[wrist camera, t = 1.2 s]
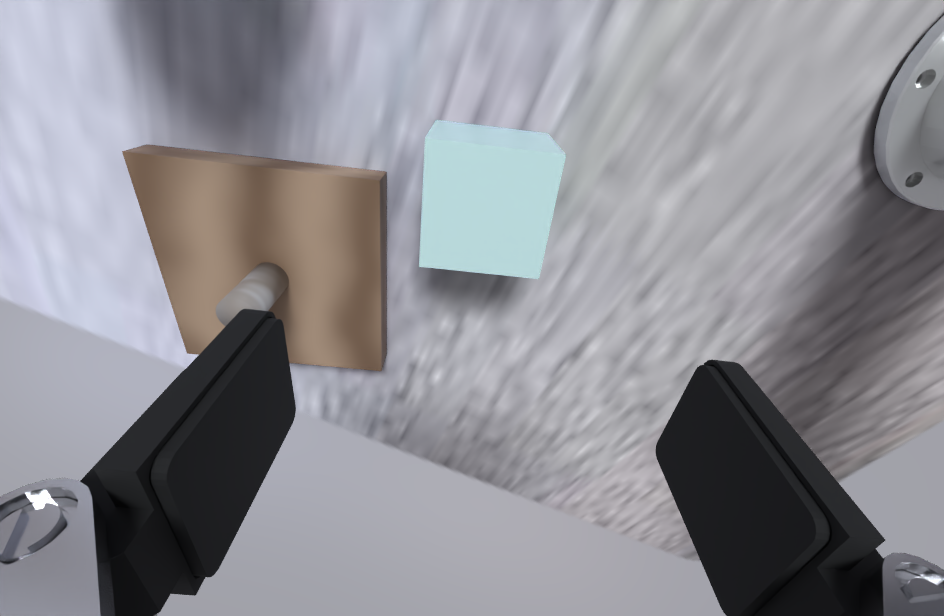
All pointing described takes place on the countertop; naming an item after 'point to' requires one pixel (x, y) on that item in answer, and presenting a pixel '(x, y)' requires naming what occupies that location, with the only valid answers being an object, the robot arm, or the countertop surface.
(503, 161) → the pale blue cube
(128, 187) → the countertop surface
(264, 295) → the wooden peg base
